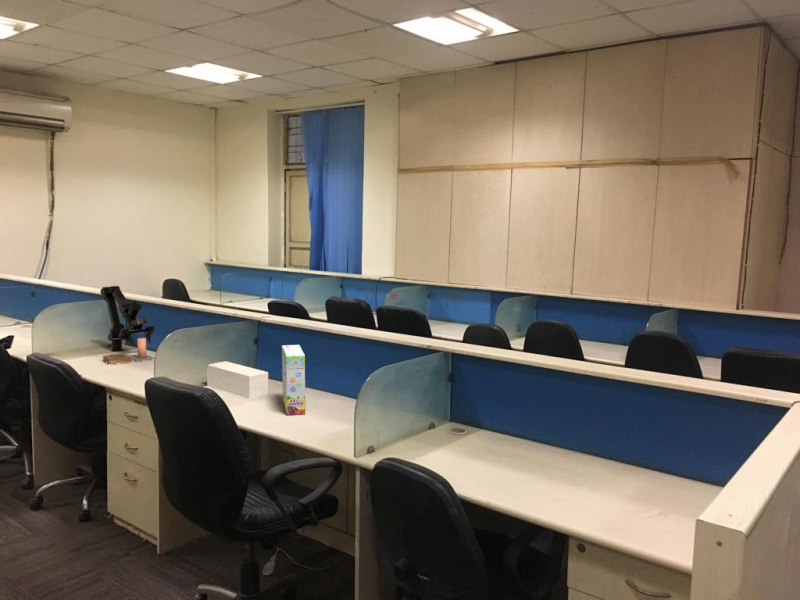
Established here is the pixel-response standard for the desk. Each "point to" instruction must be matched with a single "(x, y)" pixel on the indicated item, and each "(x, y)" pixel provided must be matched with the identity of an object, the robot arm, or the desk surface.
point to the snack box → (293, 379)
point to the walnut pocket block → (117, 358)
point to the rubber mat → (143, 358)
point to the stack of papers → (237, 379)
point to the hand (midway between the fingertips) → (142, 343)
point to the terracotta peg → (141, 348)
